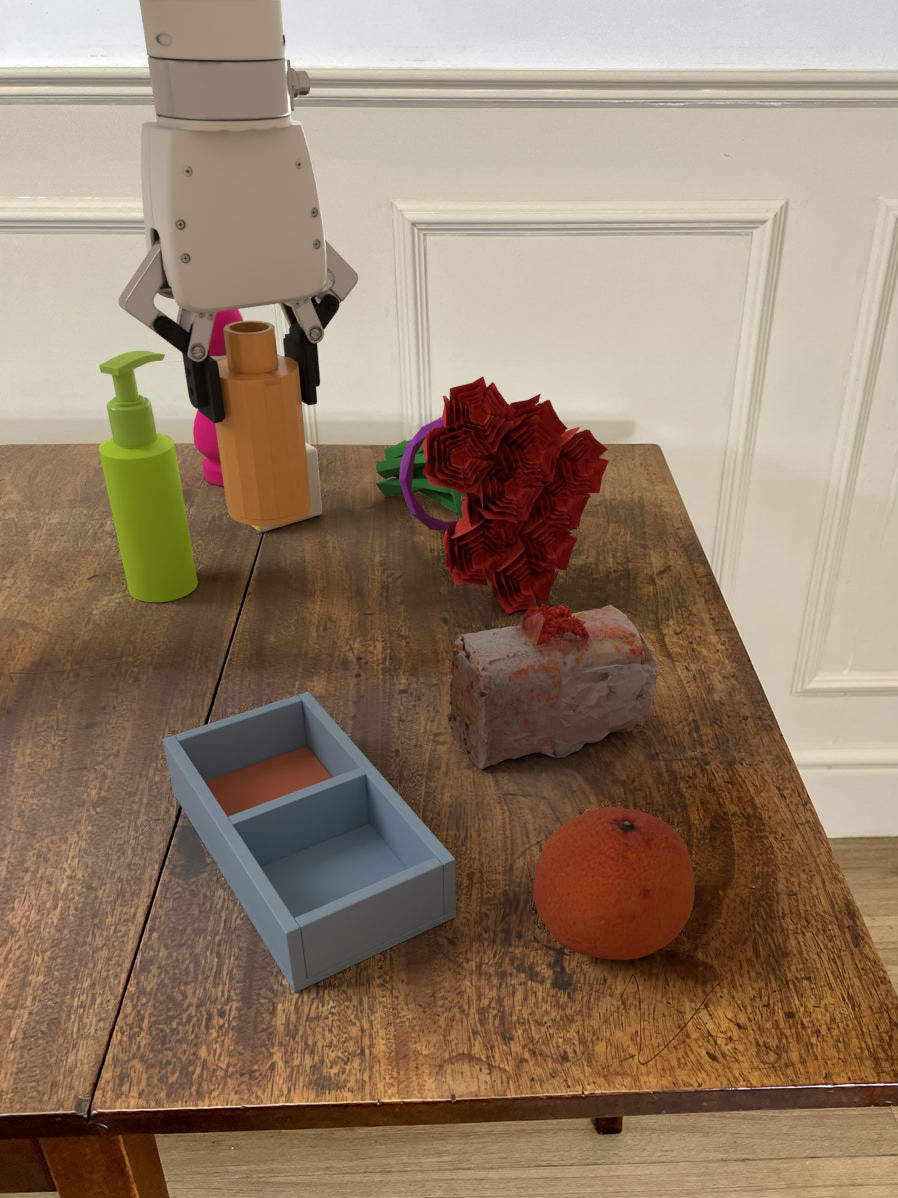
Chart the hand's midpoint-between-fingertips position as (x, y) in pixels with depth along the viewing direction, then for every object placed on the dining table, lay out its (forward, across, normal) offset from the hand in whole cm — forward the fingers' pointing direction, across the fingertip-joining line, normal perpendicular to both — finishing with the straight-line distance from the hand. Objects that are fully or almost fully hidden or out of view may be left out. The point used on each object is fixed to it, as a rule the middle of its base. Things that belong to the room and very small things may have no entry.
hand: (257, 405), depth 69 cm
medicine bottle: (+22, -11, -28) cm, 37 cm away
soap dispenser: (+22, +3, -19) cm, 29 cm away
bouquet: (+22, -23, -13) cm, 34 cm away
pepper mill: (+22, -12, -39) cm, 46 cm away
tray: (+21, +8, +19) cm, 29 cm away
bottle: (+7, 0, 0) cm, 7 cm away
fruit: (+22, -4, +34) cm, 40 cm away
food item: (+22, -12, +17) cm, 30 cm away
